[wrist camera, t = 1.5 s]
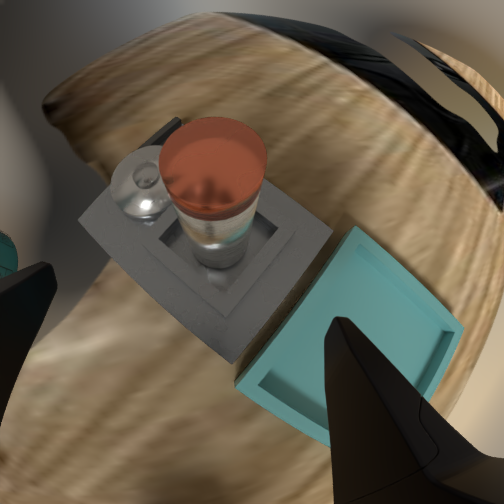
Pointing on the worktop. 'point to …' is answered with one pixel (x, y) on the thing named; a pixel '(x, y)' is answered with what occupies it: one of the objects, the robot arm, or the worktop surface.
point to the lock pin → (214, 185)
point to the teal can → (7, 256)
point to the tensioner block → (188, 266)
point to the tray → (365, 318)
